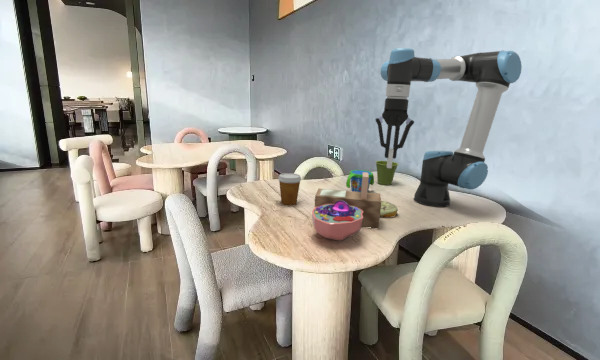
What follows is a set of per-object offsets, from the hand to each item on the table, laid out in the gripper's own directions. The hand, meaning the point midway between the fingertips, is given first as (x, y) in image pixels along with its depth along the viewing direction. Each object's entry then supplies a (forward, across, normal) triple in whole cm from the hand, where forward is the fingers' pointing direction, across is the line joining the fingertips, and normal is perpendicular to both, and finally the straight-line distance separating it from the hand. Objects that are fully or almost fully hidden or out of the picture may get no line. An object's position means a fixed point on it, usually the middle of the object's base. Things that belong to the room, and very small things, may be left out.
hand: (389, 167), depth 122 cm
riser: (+21, -13, 0) cm, 25 cm away
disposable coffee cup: (+22, -38, +14) cm, 46 cm away
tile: (+11, -8, 0) cm, 14 cm away
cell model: (+22, -16, -15) cm, 31 cm away
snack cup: (+21, -9, +39) cm, 45 cm away
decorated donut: (+22, 0, +13) cm, 25 cm away
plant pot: (+21, +4, +61) cm, 65 cm away
